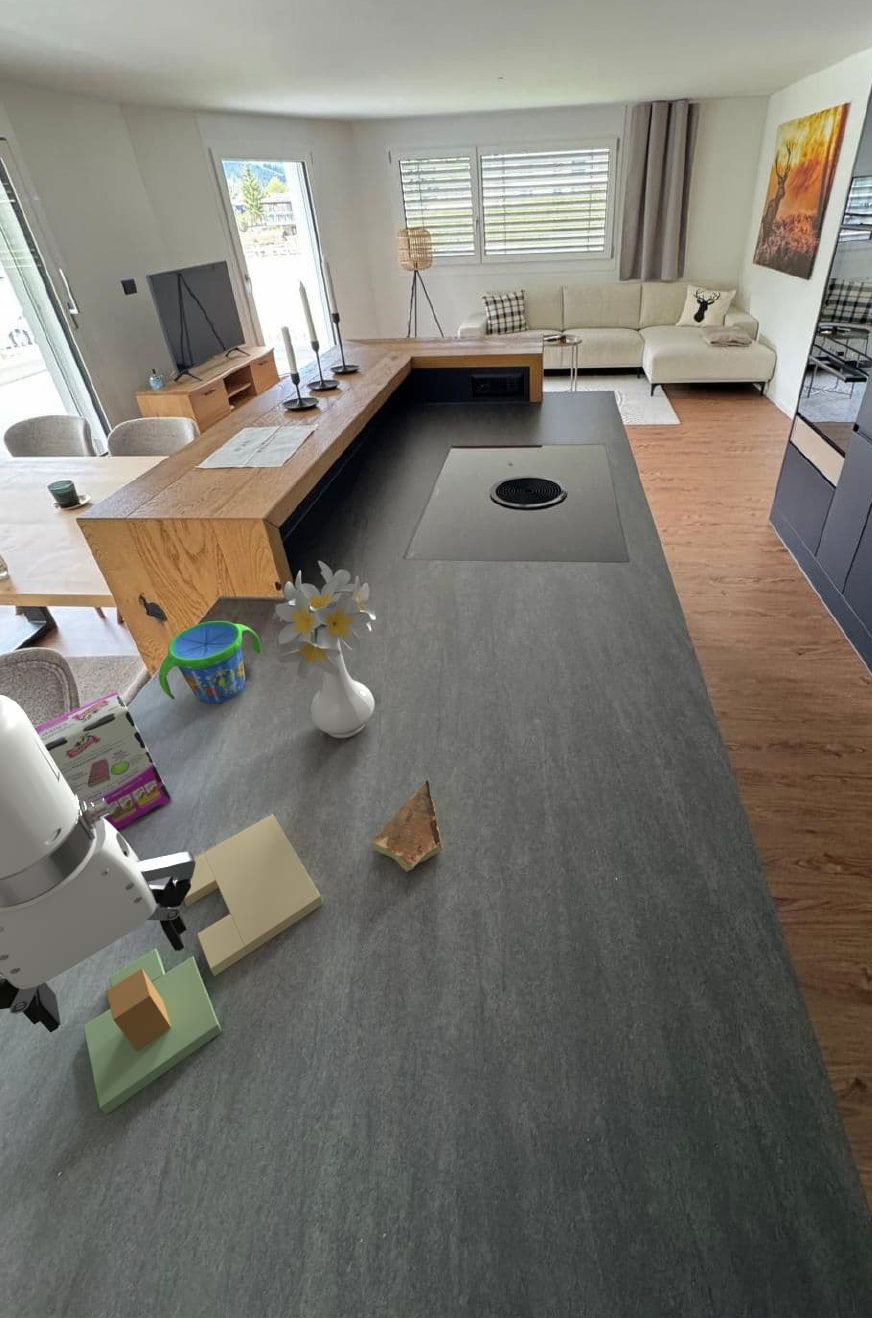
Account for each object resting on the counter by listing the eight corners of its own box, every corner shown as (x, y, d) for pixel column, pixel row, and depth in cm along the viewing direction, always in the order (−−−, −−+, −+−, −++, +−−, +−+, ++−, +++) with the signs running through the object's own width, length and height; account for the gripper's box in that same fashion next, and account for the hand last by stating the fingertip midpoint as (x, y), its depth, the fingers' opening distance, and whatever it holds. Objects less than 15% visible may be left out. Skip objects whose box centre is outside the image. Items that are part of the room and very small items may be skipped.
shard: (428, 787, 82) (427, 777, 81) (475, 813, 78) (474, 804, 78) (371, 848, 75) (369, 838, 74) (419, 880, 71) (418, 871, 70)
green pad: (222, 1031, 59) (199, 992, 55) (105, 1115, 54) (71, 1078, 50) (187, 938, 66) (165, 897, 62) (83, 1003, 61) (51, 963, 57)
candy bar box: (161, 779, 85) (119, 688, 77) (173, 801, 82) (130, 709, 73) (70, 827, 79) (12, 734, 70) (78, 853, 76) (20, 759, 67)
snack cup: (254, 654, 108) (239, 605, 103) (281, 682, 102) (267, 632, 96) (161, 696, 100) (140, 646, 94) (184, 731, 93) (162, 679, 88)
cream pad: (214, 976, 63) (210, 968, 62) (176, 877, 73) (172, 869, 72) (323, 903, 69) (320, 895, 68) (275, 821, 79) (272, 813, 78)
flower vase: (304, 784, 84) (260, 634, 70) (304, 694, 99) (268, 557, 86) (400, 762, 86) (376, 614, 73) (385, 678, 101) (363, 543, 88)
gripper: (146, 757, 51) (207, 881, 60) (-123, 885, 42) (-5, 1008, 51) (171, 816, 46) (233, 942, 55) (-130, 974, 37) (2, 1094, 46)
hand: (118, 974), depth 53 cm, fingers open, 9 cm apart
